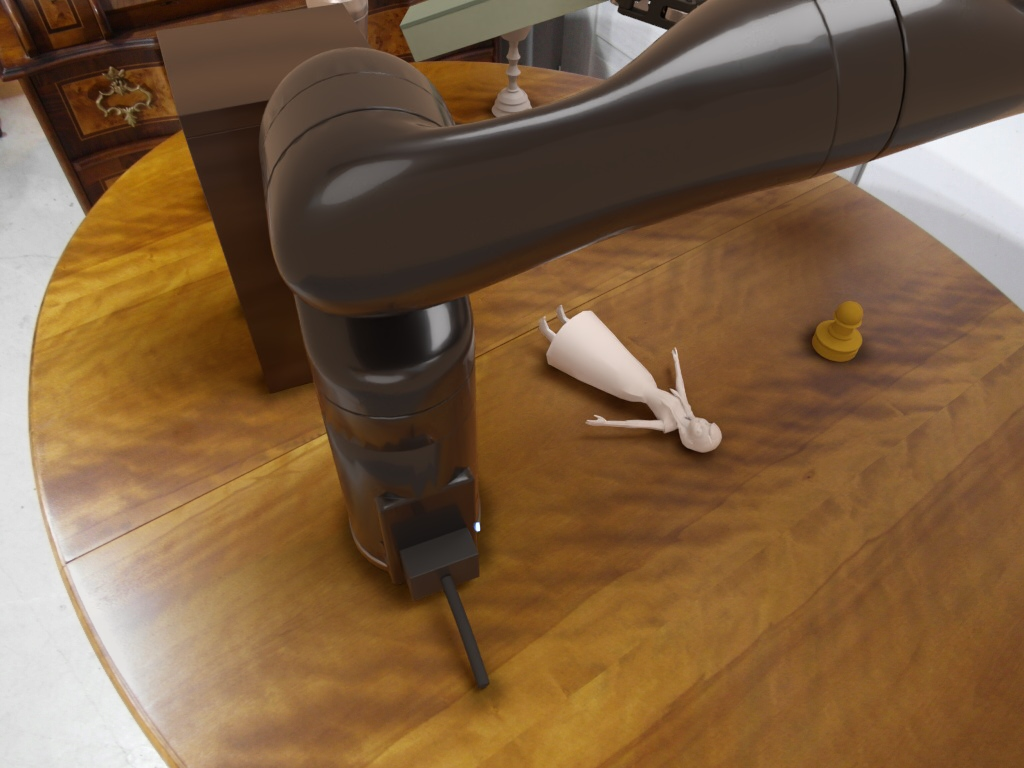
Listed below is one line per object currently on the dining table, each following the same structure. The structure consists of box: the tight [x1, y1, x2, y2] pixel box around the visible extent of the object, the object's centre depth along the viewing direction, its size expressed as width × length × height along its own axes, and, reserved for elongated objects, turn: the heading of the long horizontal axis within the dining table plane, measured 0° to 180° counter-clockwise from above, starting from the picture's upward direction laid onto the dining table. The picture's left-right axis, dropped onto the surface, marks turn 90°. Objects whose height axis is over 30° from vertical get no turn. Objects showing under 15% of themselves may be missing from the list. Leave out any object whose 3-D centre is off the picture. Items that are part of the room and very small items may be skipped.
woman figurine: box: [538, 304, 723, 454], centre depth 64 cm, size 12×4×18 cm
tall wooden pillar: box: [155, 3, 373, 394], centre depth 60 cm, size 12×13×25 cm
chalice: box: [491, 25, 534, 118], centre depth 88 cm, size 7×7×18 cm
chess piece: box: [811, 300, 864, 363], centre depth 67 cm, size 4×4×5 cm
